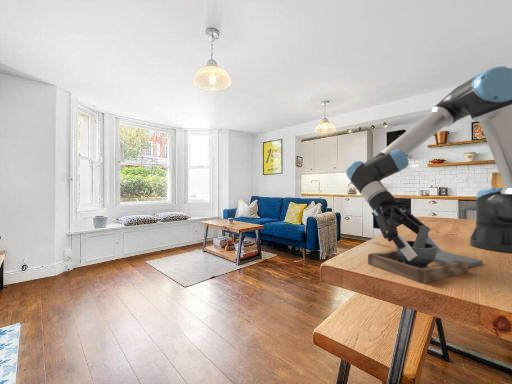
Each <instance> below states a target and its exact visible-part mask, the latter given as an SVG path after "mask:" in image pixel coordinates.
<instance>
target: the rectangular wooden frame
mask: <svg viewBox="0 0 512 384" xmlns="http://www.w3.org/2000/svg"><path fill="white" fill-rule="evenodd" d="M367 257H368V258H367V264H368V265H370V266H372V267H376V268H378V269H381V270H384V271H387V272H391V273H393V274H395V275H399V276H401V277H403V278H407V279H410V280H412V281H415V282H418V283H421V284H423V285H424V284H427V283H431V282H435V281H439V280H442V279H447V278H450V277H454V276H456V275H461V274H464V273H468V272H469V267H468V261H466V260H457V261H453V262H449V263H444V264H440V263H439V264H436V265H431V266H428V267H426V268H422V269H421V268H418V267H414V266H411V265H408V264H405V263H403V262H400V261H403V260H402V259H401V258H400V257H399V255H398V253H397V250H396V249H392V250H386V251H379V252H374V253H368V255H367Z"/></svg>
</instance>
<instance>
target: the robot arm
mask: <svg viewBox="0 0 512 384" xmlns="http://www.w3.org/2000/svg"><path fill="white" fill-rule="evenodd" d="M468 116H470V117H471V120H473V121H475V122H478V123H479V124H480V127H481V130H482V132H483V135H484V137H485V140H486V142H487V145H488V147H489V150H490V152H491V156H492V157H493V160H494V163H495V166H496V167H497V168H496V169H497V170H498V173H499V176H500V177H501V180H502V183H503V185H504V186H502V187H489V188H482V189H479V190H478V191H477V194H476V198H475V200H476V206H475V207H476V210H475V211H476V213H475V214H476V215H475V217H476V218H475V219H476V220H475V228H474V229H473V231H472V233H471V236H470V238H469V245H470V246H471V247H472V246H473V247H475V248H479V249H483V250H489V251H494V252H506V253H512V68H511V67H507V66H495V67H492V68H489V69H487V70H485V71H482V72H480V73H478V74H477V75H475V76H474V77H472V78H470V79H469V80H467V81H465V82H463V83H462V84H460V85H458V86H457V87H456V88H454V89H453V90H451V92H449V93H448V94H447V95H446V96H445V97H444V98H442V100H441V99H440V101H439V102H438V103H437V104H436V105H434V106H433V107H432V108H431V109H430V110H429V113H428V114H427V115H426V116H424V117H423V118H422V119H421V120H419V121H418V122H417V123H415V124H414V125H413V126H412V127H410V128H409V129H408V130H406V131H405V132H404V133H402V134H401V135H399V137H397V138H396V139H395V140H393V141H392V142H390V144H389V145H387V146H386V147H384V148H383V149H382V150H381V151H380V152H378V153H377V154H376V155H374V156H373V157H372V158H370V159H368V160H366V161H365V162H363V161H361V160H359V161H358V160H357V161H354V162H352V163H351V164H349V166H348V167H347V169H346V172H345V174H346V177H347V178H348V179H349V181H350V183H351V184H353V186H354V187H355V188H356V190H357V191H358V192H359V193H360V195H361V196H362V197H363V198H364V200H365V202H367V204H368V205H369V207H370V208H371V210H372V212H371V215H372V216H373V218H374V219H375V220H376V222H377V223H376V224H377V227H378V228H379V230H380V232H381V235H382V236H383V238H384V239H386V240H387V241H388V242H390V243H391V242H393V243H394V245H395V247H396V246H397V247H398V248H399V249H400V250H401V252H402V253H403V254H404V256H405V257H406V258H407V260H408V261H411V260H412V259H413V258H415V257H416V256H418V255H417V254H416V253H415V252H414V250H413V249H412V248H411V247H410V245H409V244H408V243H407V242H406V241H407V240H406V239H405V238H404V236H403V235H402V234H400V235H399V232H398V228H397V227H398V226H397V224H402V225H403V226H404V227H406V228H407V229H409V230H410V231H412V232H413V233H415V234H416V235H417V234H418V232H419V226H426V224H424V223H423V222H422V221H421V220H420V219H418V218H417V217H416V216H415V215H413V213H411V211H409V210H408V208H406V207H405V206H402V207H401V208H400V207H398V206H397V205H396V202H397V201H396V200H397V199H396V197H394V196H393V194H392V193H391V192H390V191H388V188H387V187H386V186H385V185H384V184H383V183H382V182H381V181H382V180H383V179H386V178H388V177H390V176H392V175H395V174H398V172H401V171H402V170H404V169H406V168H408V166H409V158H408V157H407V156H408V155H409V154H411V153H412V152H414V150H415V149H417V148H419V147H420V146H422V144H424V143H425V142H426V141H428V140H429V139H430V138H432V137H433V136H434V135H436V134H437V133H439V131H441V130H442V129H444V128H445V127H446V128H447V127H451V126H452V125H454V123H456V122H457V121H459V120H462V119H464V118H467V117H468ZM396 223H397V224H396ZM426 243H428V244H432V245H434V246H436V247H437V252H436V255H438V254H439V253H441V252H442V251H443V249H442V248H441V246H439V244H438V243H437V242H436V241H435V240H434V239H433V238H432V237H431V236H430V234H428V236H427V241H426ZM443 252H444V251H443Z"/></svg>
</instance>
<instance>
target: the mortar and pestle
mask: <svg viewBox="0 0 512 384" xmlns="http://www.w3.org/2000/svg"><path fill="white" fill-rule="evenodd" d="M430 231H431V228H430V227H429V226H426V225H425V226H419V232H418V234H416V238H415V240H406V242H407V243H408V244H409V245H410V247H411V248H412V249H413V250H414V252H415V253H416V254H417V255H418V256H416V257H415V258H413V259H412V260H411V261H408V260H407V258H406V257H405V256H404V254H403V253H402V252H401V250H400V249H399V248H398V247H397V246H396V245H395V248H396V249H395V250H397V253H398V255H399V257H400V258H401V259H402V260H401V261H402V263H405V264H408V265H411V266H414V267H418V268H421V269H422V268H426V267H429V266H428V265H429V264H431V263H433V260H434V259H435V257H436V252H437V247H436V246H434V245H432V244H428V243H426V241H427V236H428V235H429V232H430Z"/></svg>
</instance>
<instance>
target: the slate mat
mask: <svg viewBox="0 0 512 384" xmlns="http://www.w3.org/2000/svg"><path fill="white" fill-rule="evenodd" d="M457 260H466V261H468V268H470V267H474V266H479V265H482V264H483V260H482V259H479V258H478V259H477V258H473V257H468V256H464V255H461V254H460V255H459V254H455V253H453V252H452V253H451V252H447V251H442V252H441V253H439V254H438V255H436V257H435V259H434V260H433V261H432V263H436V264H439V265H440V264H444V263H449V262H453V261H457Z"/></svg>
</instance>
